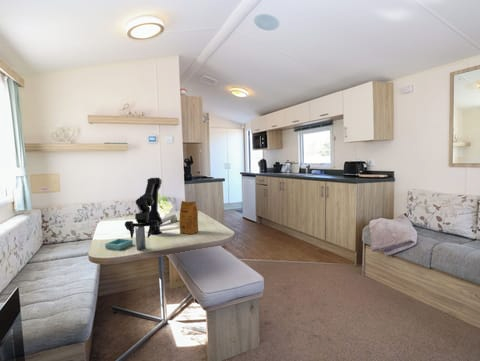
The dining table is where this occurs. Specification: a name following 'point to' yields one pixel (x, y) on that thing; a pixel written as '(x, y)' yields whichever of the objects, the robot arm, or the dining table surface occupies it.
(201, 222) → the dining table surface
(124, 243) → the tray
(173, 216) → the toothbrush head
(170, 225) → the dining table surface
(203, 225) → the dining table surface
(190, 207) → the coffee package
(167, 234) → the dining table surface
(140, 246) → the block
